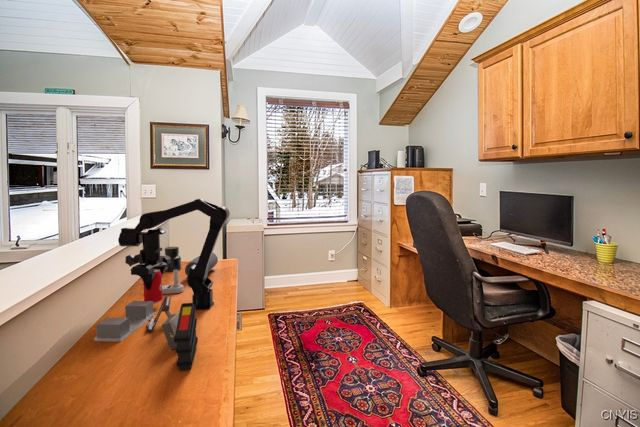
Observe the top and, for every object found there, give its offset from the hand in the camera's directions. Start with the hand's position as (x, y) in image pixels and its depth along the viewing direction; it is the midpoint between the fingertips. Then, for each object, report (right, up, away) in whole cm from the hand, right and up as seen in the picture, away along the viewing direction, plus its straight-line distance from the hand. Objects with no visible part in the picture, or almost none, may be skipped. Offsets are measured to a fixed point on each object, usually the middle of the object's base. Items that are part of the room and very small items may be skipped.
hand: (153, 287), depth 127 cm
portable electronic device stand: (+10, -10, -15) cm, 20 cm away
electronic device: (-4, -7, +19) cm, 20 cm away
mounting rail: (-1, -9, -16) cm, 18 cm away
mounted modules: (-1, -9, -16) cm, 18 cm away
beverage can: (0, -6, +1) cm, 6 cm away
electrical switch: (+21, -11, -27) cm, 36 cm away
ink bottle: (-17, -3, +56) cm, 58 cm away
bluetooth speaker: (+3, -4, +46) cm, 46 cm away
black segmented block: (+27, -12, -37) cm, 48 cm away
